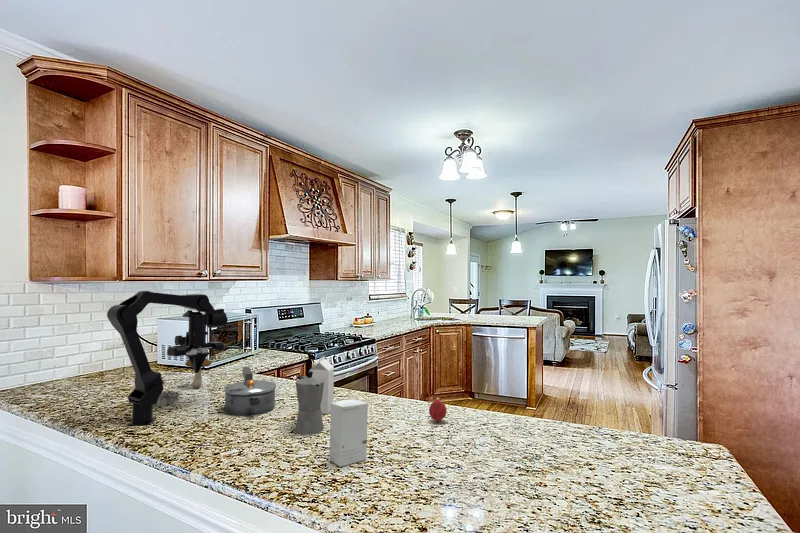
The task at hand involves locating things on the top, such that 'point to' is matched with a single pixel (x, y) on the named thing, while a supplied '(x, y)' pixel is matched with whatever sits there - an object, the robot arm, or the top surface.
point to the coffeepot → (309, 404)
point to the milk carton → (325, 382)
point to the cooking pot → (249, 404)
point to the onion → (437, 410)
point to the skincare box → (348, 432)
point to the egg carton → (167, 397)
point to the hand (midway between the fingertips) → (196, 372)
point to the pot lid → (249, 385)
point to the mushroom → (198, 378)
